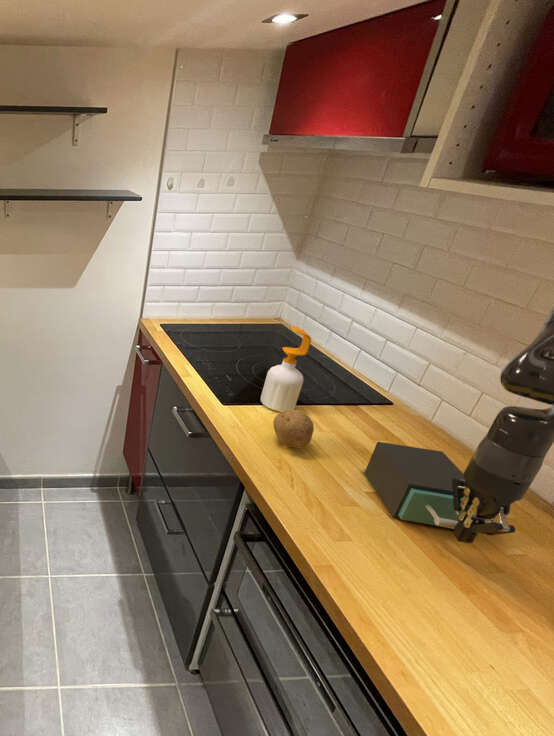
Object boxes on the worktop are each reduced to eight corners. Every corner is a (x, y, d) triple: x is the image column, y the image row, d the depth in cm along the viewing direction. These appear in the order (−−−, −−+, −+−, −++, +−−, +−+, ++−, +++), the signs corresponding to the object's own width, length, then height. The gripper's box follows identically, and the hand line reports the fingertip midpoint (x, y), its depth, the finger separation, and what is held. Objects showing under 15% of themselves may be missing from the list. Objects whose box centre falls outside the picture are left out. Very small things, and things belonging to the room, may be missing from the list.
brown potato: (274, 429, 121) (284, 397, 117) (311, 443, 115) (323, 411, 111) (263, 444, 115) (273, 411, 111) (302, 460, 109) (314, 426, 105)
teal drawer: (483, 551, 84) (500, 523, 81) (413, 538, 87) (427, 510, 84) (430, 486, 100) (443, 460, 97) (372, 476, 103) (383, 451, 100)
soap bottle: (256, 394, 137) (276, 320, 127) (288, 398, 135) (311, 323, 125) (264, 410, 129) (287, 333, 119) (298, 414, 127) (324, 336, 117)
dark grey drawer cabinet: (464, 530, 90) (484, 496, 86) (392, 517, 93) (409, 483, 89) (426, 483, 103) (442, 451, 99) (364, 472, 105) (377, 441, 102)
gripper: (453, 438, 83) (418, 509, 90) (504, 487, 71) (459, 564, 78) (502, 445, 81) (462, 517, 88) (562, 496, 69) (511, 574, 76)
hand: (461, 539), depth 83 cm, fingers closed
